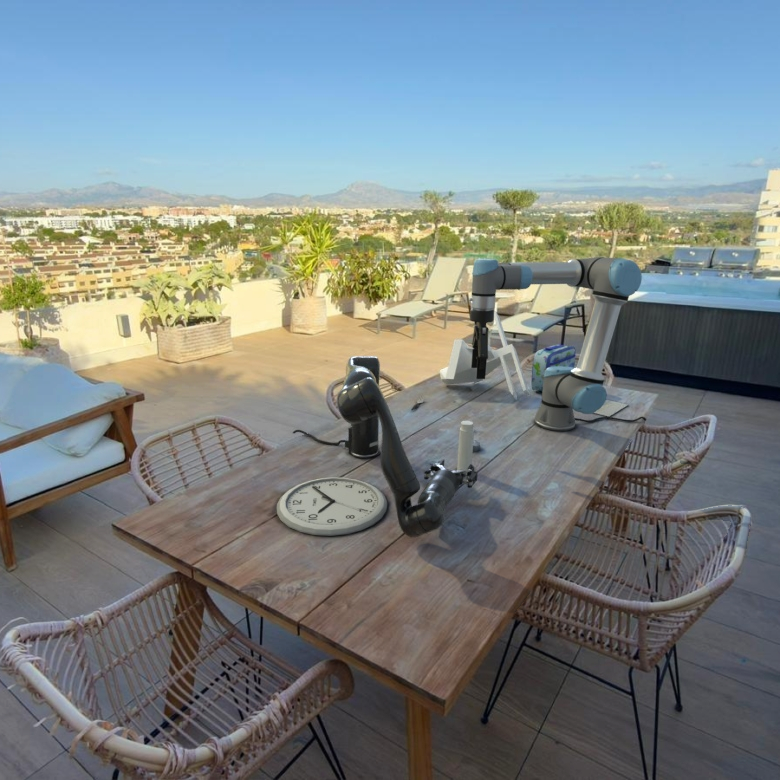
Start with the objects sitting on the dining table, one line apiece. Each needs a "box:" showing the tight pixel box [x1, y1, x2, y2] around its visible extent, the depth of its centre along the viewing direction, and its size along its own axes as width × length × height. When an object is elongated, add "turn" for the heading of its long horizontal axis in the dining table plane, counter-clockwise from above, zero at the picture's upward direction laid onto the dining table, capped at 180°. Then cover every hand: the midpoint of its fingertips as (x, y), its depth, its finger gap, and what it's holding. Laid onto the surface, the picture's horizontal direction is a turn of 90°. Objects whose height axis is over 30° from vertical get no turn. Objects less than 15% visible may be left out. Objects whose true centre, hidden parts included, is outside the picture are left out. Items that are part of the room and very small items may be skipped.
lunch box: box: [530, 344, 577, 392], centre depth 247 cm, size 26×11×21 cm, turn 134°
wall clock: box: [276, 476, 388, 537], centre depth 142 cm, size 30×2×30 cm
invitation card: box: [593, 399, 629, 417], centre depth 226 cm, size 21×1×15 cm
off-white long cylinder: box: [456, 420, 475, 476], centre depth 162 cm, size 4×4×16 cm
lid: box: [473, 439, 481, 453], centre depth 181 cm, size 5×5×2 cm
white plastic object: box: [438, 310, 531, 400], centre depth 245 cm, size 37×45×31 cm
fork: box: [410, 395, 426, 411], centre depth 223 cm, size 3×16×2 cm, turn 160°
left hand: (457, 464), depth 153 cm, fingers open, 8 cm apart
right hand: (477, 373), depth 173 cm, fingers open, 13 cm apart
